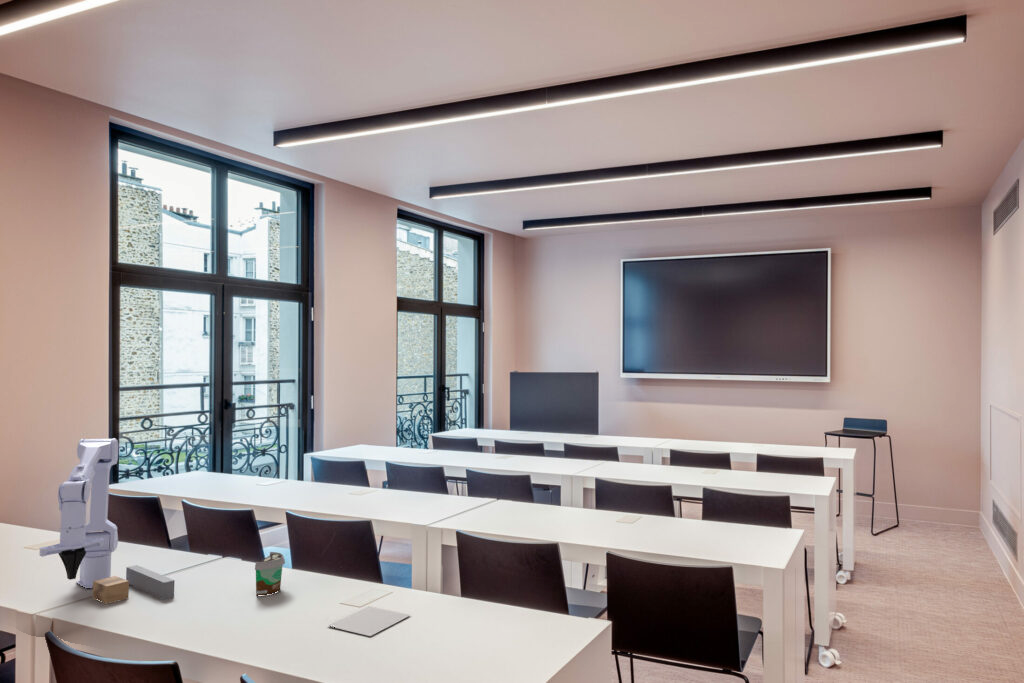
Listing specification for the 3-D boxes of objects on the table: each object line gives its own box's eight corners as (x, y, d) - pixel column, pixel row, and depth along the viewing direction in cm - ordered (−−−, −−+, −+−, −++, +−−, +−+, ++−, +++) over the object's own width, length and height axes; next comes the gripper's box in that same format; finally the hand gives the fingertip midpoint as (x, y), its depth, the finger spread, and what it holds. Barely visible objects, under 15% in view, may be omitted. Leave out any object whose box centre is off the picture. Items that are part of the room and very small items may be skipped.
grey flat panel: (298, 621, 181) (299, 619, 181) (361, 594, 203) (361, 592, 203) (370, 638, 170) (370, 636, 170) (428, 608, 192) (428, 605, 192)
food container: (275, 598, 198) (276, 563, 199) (254, 598, 198) (254, 562, 199) (290, 585, 210) (291, 551, 211) (270, 584, 211) (270, 551, 211)
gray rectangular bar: (125, 583, 211) (126, 567, 212) (136, 581, 214) (136, 565, 214) (163, 600, 196) (163, 582, 197) (174, 597, 199) (174, 580, 199)
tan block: (92, 598, 197) (93, 581, 197) (114, 593, 202) (115, 576, 202) (106, 604, 192) (106, 586, 193) (128, 598, 197) (129, 581, 198)
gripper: (46, 533, 177) (44, 588, 177) (108, 524, 188) (107, 575, 188) (37, 529, 182) (35, 582, 181) (99, 520, 193) (97, 570, 192)
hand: (71, 578), depth 185 cm, fingers closed
